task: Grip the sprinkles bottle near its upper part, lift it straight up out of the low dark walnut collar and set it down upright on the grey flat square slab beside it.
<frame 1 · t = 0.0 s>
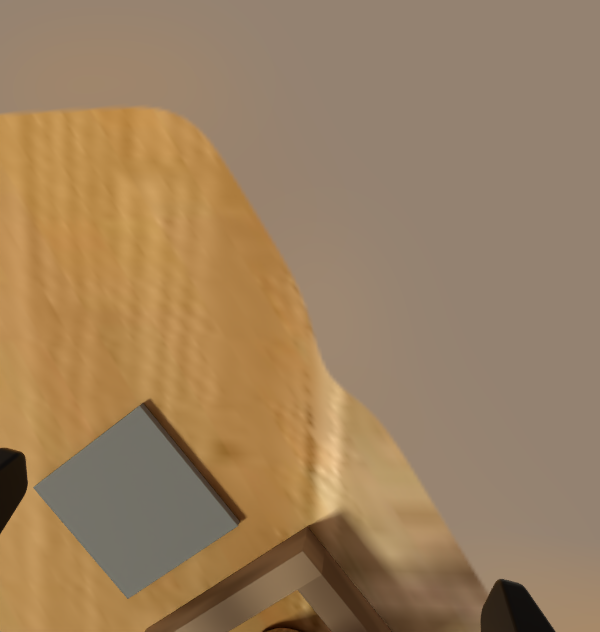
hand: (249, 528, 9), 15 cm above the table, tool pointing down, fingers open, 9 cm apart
grey flat square slab: (136, 502, 28), on the table
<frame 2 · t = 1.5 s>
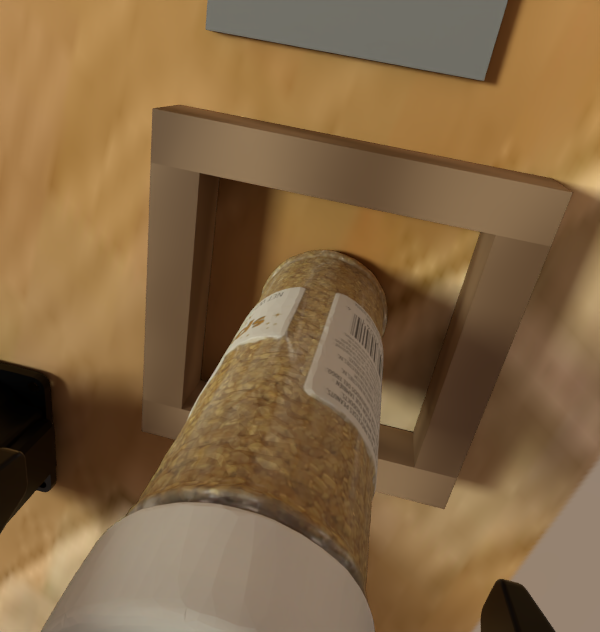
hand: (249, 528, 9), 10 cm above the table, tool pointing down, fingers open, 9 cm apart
walnut collar stand: (325, 308, 18), on the table
sprinkles bottle: (325, 306, 19), resting in walnut collar stand
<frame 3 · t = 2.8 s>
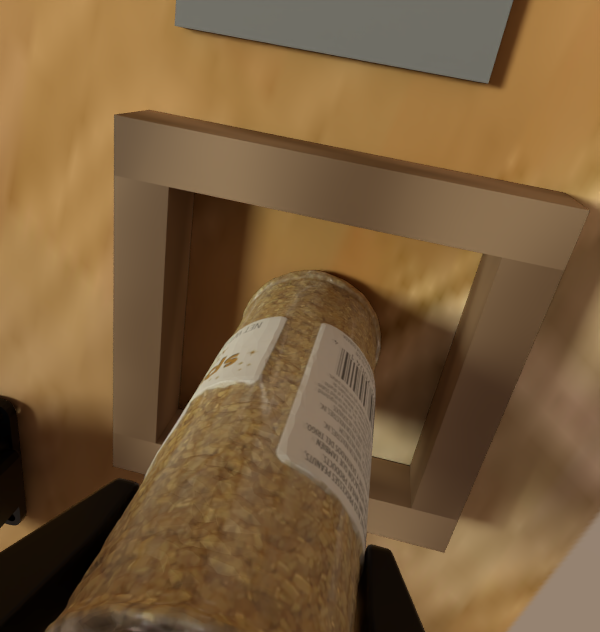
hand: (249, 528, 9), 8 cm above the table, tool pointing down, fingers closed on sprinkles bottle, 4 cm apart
walnut collar stand: (312, 333, 17), on the table
sprinkles bottle: (313, 330, 17), resting in walnut collar stand, touching gripper
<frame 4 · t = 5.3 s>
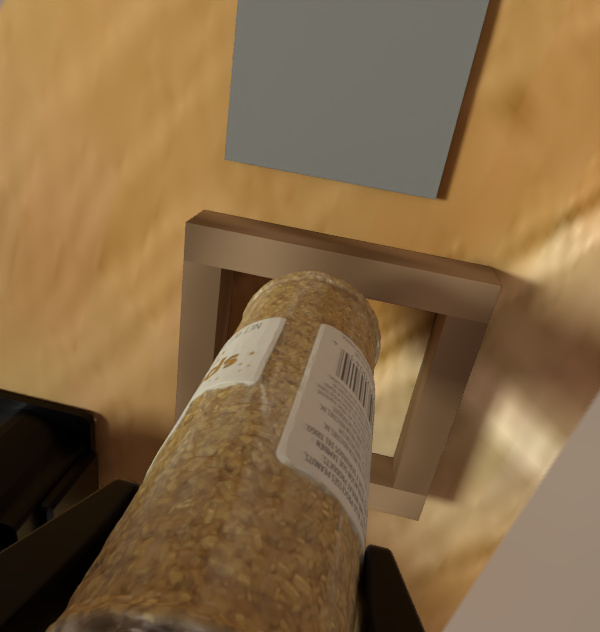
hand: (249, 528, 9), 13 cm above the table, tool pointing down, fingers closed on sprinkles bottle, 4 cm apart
walnut collar stand: (319, 361, 23), on the table
grey flat square slab: (349, 60, 18), on the table
sprinkles bottle: (313, 331, 17), point 5 cm above the table, touching gripper
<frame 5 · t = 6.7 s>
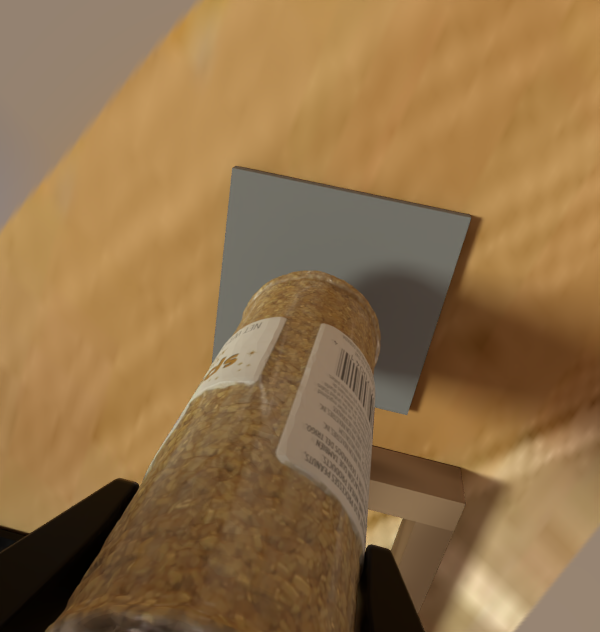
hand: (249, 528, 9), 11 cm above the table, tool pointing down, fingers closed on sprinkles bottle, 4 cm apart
walnut collar stand: (300, 528, 24), on the table
grey flat square slab: (327, 296, 19), on the table
sprinkles bottle: (313, 330, 17), point 3 cm above the table, touching gripper
when the fingers open (10 cm above the table, at t = 7.7 s): sprinkles bottle drops 1 cm, resting on grey flat square slab.
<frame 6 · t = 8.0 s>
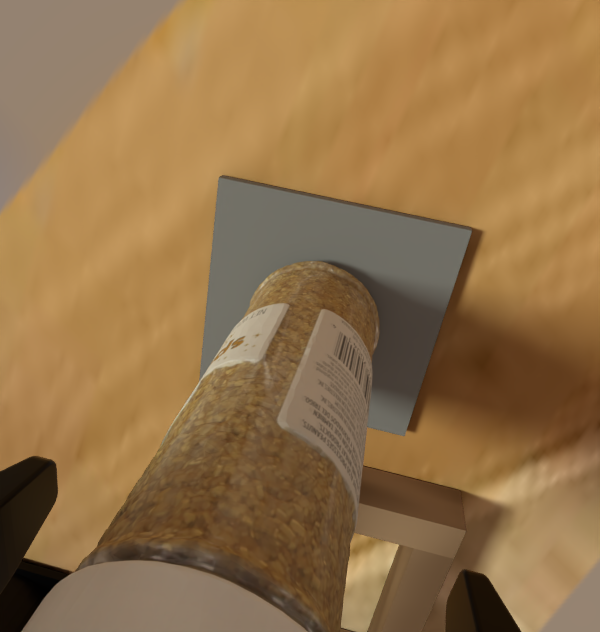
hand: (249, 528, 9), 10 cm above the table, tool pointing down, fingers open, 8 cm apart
walnut collar stand: (293, 551, 23), on the table
grey flat square slab: (320, 312, 18), on the table
sprinkles bottle: (316, 318, 18), resting on grey flat square slab
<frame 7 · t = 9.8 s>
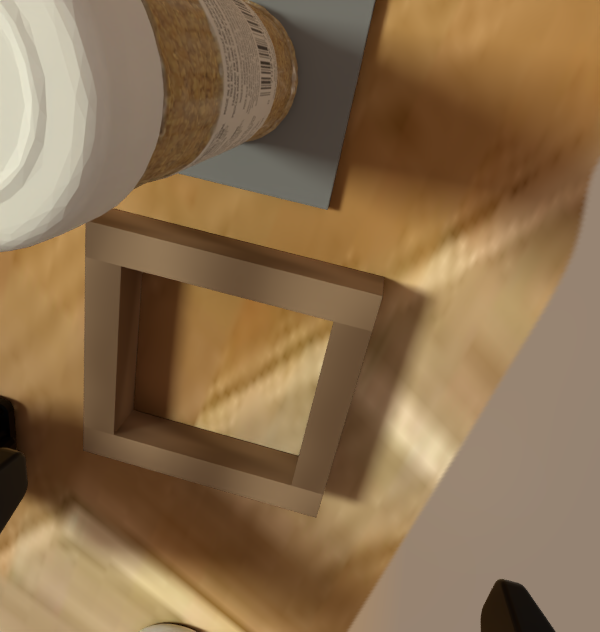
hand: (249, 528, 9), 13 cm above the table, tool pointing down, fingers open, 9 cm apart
walnut collar stand: (226, 360, 24), on the table
grey flat square slab: (244, 71, 18), on the table
sprinkles bottle: (239, 75, 18), resting on grey flat square slab
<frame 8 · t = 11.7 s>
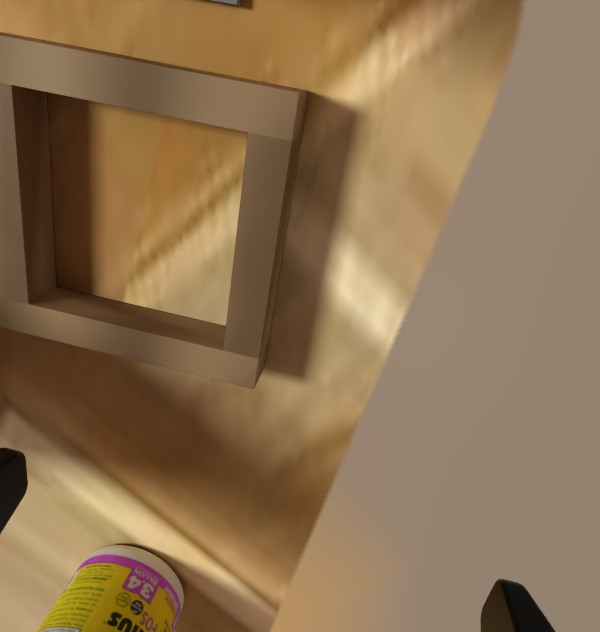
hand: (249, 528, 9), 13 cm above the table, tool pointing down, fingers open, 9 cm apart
walnut collar stand: (148, 215, 21), on the table
supplement bottle: (137, 575, 32), on the table
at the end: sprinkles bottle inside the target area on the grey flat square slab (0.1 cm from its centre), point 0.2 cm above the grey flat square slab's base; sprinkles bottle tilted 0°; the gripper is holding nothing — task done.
